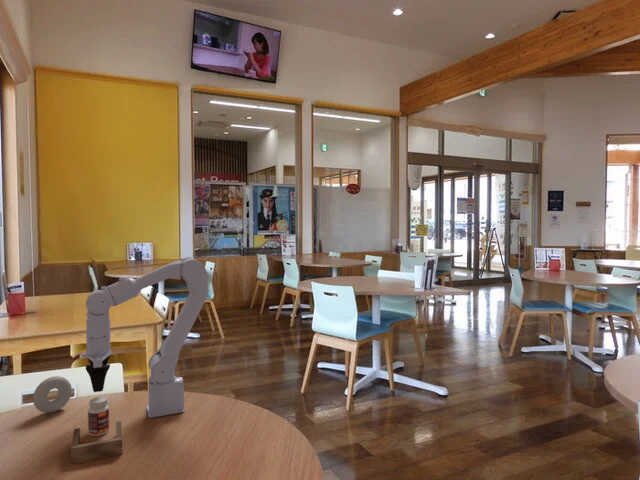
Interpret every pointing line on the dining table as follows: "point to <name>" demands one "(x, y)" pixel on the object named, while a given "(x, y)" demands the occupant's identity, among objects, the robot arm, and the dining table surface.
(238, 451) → the dining table surface
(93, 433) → the pill bottle
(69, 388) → the donut
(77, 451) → the brown u-shaped block
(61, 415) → the dining table surface
